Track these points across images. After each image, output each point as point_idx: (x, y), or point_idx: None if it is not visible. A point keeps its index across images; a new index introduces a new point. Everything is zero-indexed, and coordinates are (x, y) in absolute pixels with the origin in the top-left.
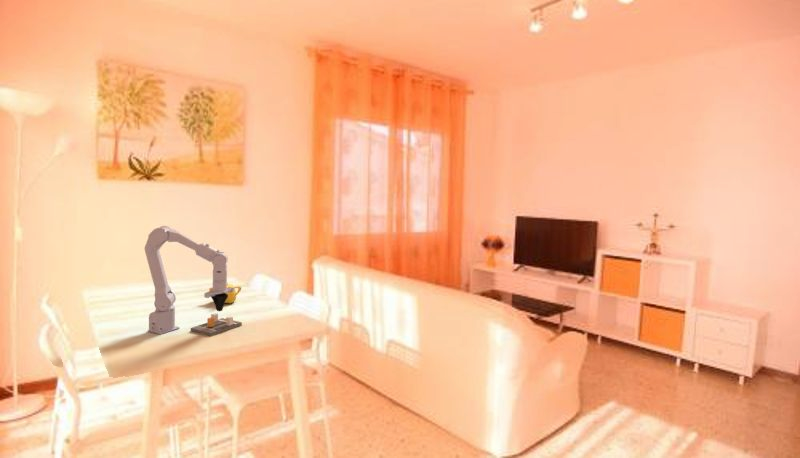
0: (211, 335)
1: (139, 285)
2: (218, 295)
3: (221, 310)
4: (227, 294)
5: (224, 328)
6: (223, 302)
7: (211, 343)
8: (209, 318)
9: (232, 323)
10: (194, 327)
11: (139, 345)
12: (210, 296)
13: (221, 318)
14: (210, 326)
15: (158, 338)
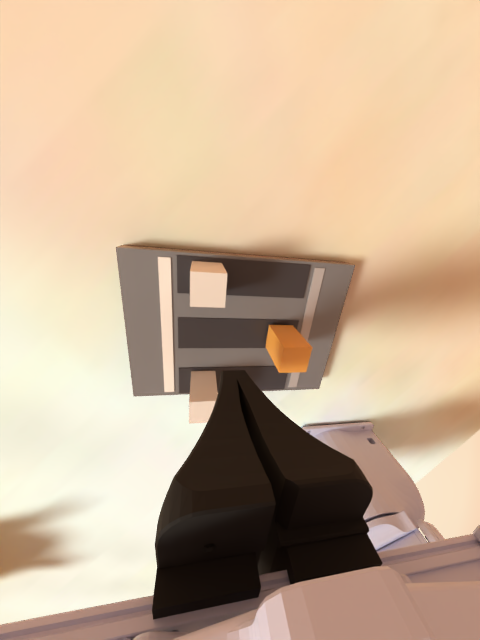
0: (343, 262)
1: None
2: (326, 547)
3: (231, 371)
4: (166, 536)
5: (266, 258)
6: (233, 417)
7: (437, 176)
8: (304, 362)
9: (195, 262)
10: (309, 382)
11: (464, 388)
12: (448, 547)
13: (141, 393)
14: (293, 328)
15: (402, 397)
